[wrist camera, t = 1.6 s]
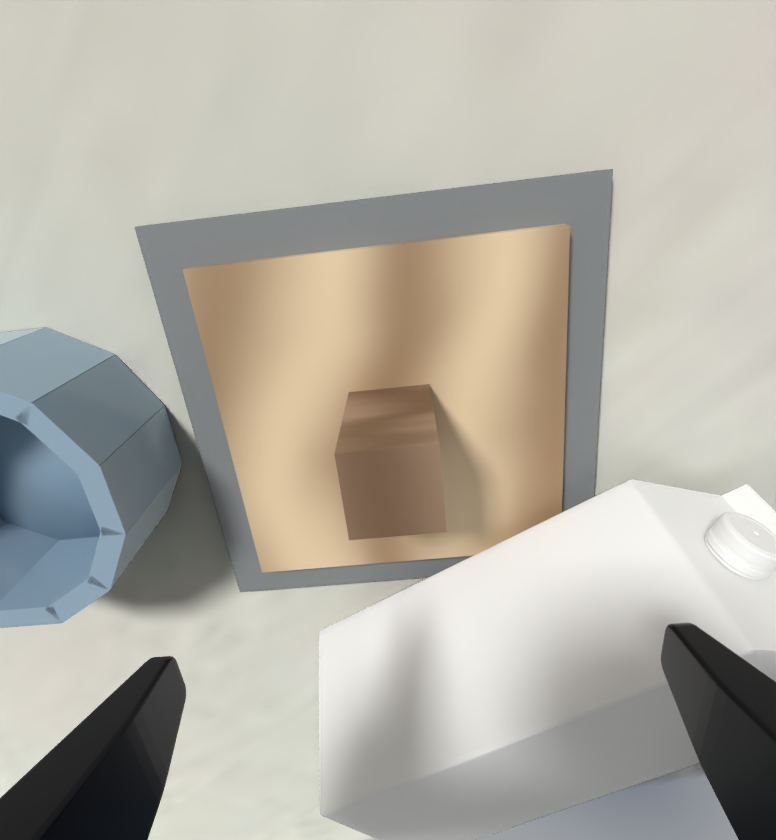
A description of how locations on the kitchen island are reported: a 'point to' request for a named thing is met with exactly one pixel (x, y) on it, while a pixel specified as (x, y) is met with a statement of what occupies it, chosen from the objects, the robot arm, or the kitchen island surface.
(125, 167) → the kitchen island surface
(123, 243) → the kitchen island surface
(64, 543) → the ceramic bowl
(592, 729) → the milk carton
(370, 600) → the kitchen island surface
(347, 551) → the oak lid
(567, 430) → the rubber mat
